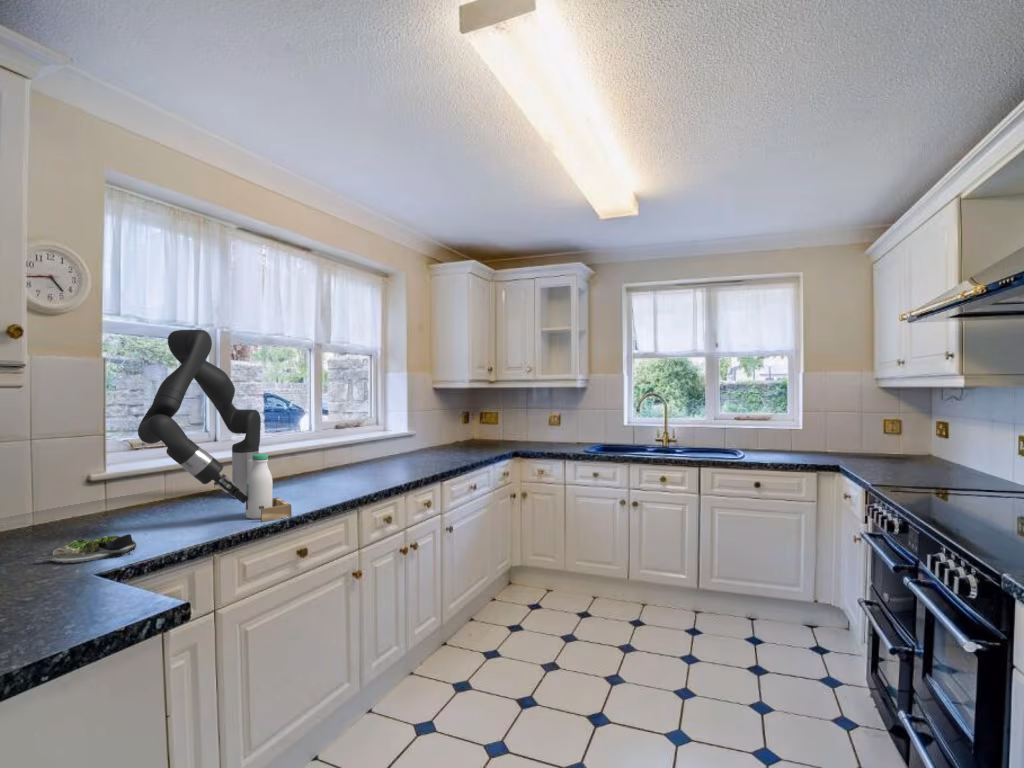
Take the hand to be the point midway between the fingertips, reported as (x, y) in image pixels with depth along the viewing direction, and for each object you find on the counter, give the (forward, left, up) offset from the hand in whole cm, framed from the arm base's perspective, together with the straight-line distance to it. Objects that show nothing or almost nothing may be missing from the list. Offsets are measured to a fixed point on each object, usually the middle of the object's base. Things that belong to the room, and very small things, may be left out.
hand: (245, 500), depth 170 cm
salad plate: (+12, -37, -6) cm, 40 cm away
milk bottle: (0, +4, -6) cm, 7 cm away
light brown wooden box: (0, +8, -6) cm, 10 cm away
